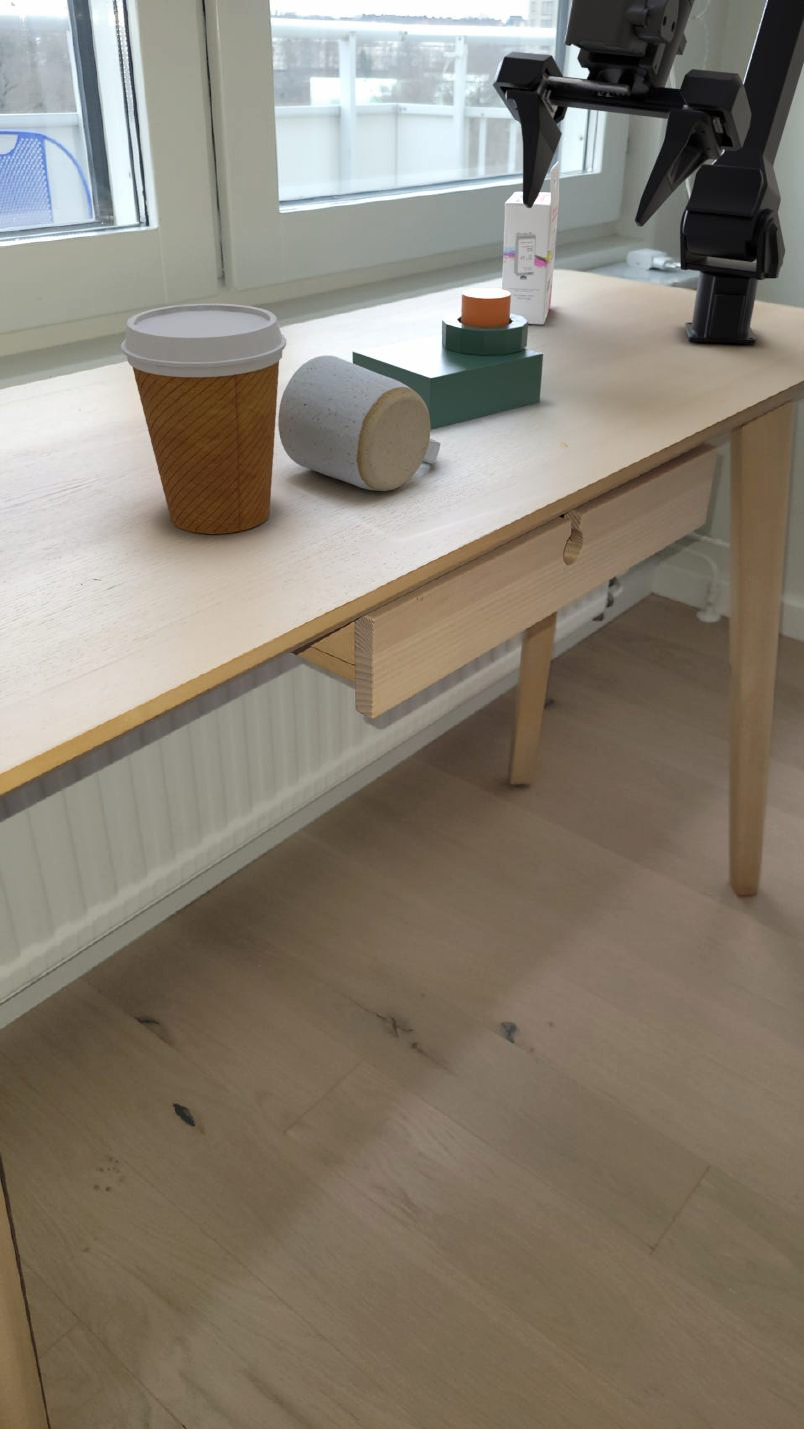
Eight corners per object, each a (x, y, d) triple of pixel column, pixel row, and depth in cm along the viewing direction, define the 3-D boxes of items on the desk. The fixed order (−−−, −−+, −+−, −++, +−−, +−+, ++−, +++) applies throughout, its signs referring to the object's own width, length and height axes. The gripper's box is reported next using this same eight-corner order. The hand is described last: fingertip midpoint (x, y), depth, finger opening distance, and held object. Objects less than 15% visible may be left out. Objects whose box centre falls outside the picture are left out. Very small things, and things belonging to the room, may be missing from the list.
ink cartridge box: (507, 306, 120) (515, 159, 112) (551, 308, 119) (563, 160, 111) (497, 323, 113) (505, 168, 105) (544, 326, 112) (556, 169, 104)
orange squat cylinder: (486, 317, 91) (487, 286, 89) (519, 326, 88) (521, 294, 87) (450, 324, 89) (451, 292, 87) (483, 333, 86) (484, 300, 85)
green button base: (472, 373, 96) (475, 304, 93) (552, 399, 90) (558, 325, 87) (353, 400, 89) (351, 325, 86) (429, 430, 83) (431, 351, 79)
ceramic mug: (363, 509, 69) (363, 389, 65) (277, 478, 73) (272, 364, 69) (467, 470, 76) (473, 359, 72) (382, 444, 80) (383, 338, 76)
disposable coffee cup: (152, 490, 72) (129, 302, 65) (295, 486, 72) (285, 301, 66) (135, 547, 64) (106, 341, 57) (295, 543, 64) (284, 338, 58)
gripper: (502, -78, 75) (431, 146, 77) (764, -67, 67) (677, 181, 69) (551, 18, 85) (487, 214, 87) (783, 37, 77) (707, 252, 79)
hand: (581, 214), depth 80 cm, fingers open, 9 cm apart
